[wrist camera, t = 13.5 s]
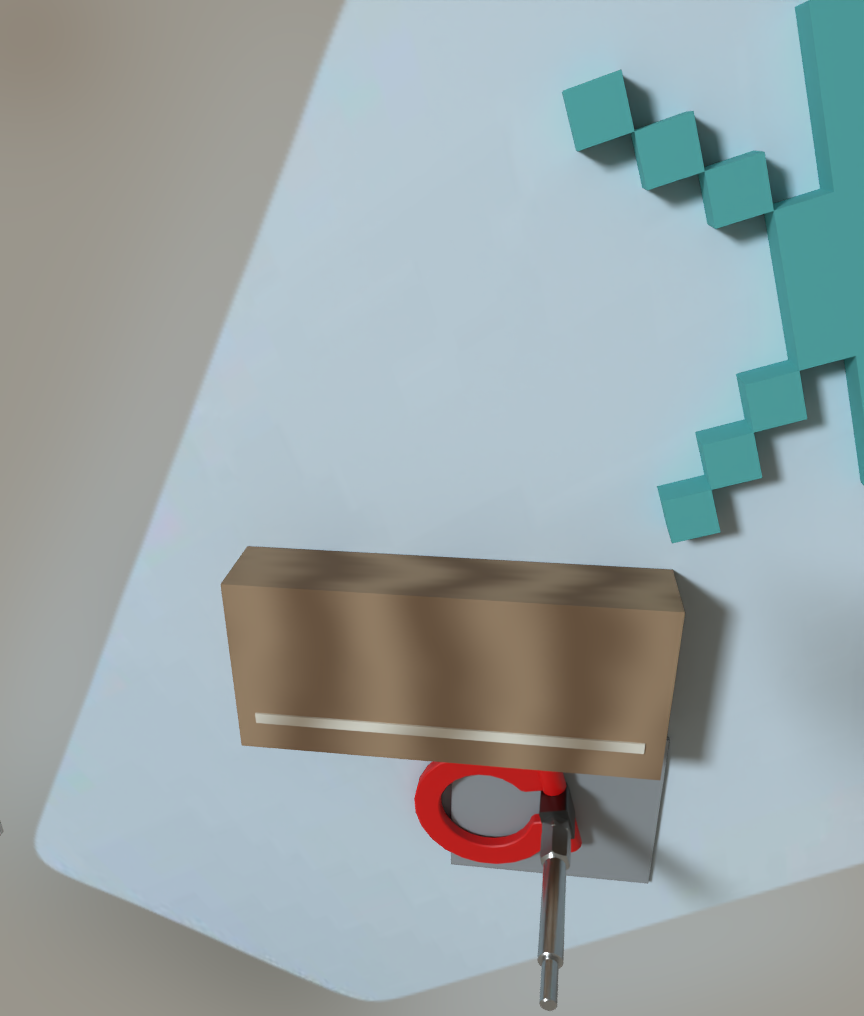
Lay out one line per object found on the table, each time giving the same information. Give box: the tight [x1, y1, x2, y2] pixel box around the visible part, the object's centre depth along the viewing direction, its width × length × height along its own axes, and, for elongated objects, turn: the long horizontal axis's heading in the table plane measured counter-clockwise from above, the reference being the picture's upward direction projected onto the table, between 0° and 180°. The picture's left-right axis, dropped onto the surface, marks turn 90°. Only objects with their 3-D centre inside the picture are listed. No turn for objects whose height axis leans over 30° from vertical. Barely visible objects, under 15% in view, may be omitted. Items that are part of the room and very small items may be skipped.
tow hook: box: [414, 761, 582, 1011], centre depth 43 cm, size 8×13×9 cm
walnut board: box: [221, 546, 685, 780], centre depth 42 cm, size 22×10×4 cm, turn 90°
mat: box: [451, 737, 669, 883], centre depth 48 cm, size 12×11×1 cm
